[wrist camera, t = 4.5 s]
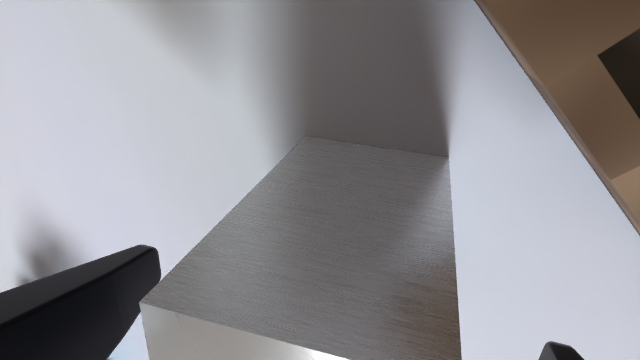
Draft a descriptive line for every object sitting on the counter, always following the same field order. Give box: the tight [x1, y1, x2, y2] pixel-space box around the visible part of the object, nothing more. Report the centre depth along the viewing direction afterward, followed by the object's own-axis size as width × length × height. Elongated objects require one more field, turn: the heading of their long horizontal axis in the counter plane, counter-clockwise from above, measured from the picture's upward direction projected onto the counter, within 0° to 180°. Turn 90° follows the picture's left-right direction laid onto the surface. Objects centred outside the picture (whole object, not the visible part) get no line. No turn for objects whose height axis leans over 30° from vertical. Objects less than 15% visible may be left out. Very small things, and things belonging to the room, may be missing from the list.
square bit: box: [139, 136, 462, 360], centre depth 10 cm, size 4×4×8 cm
